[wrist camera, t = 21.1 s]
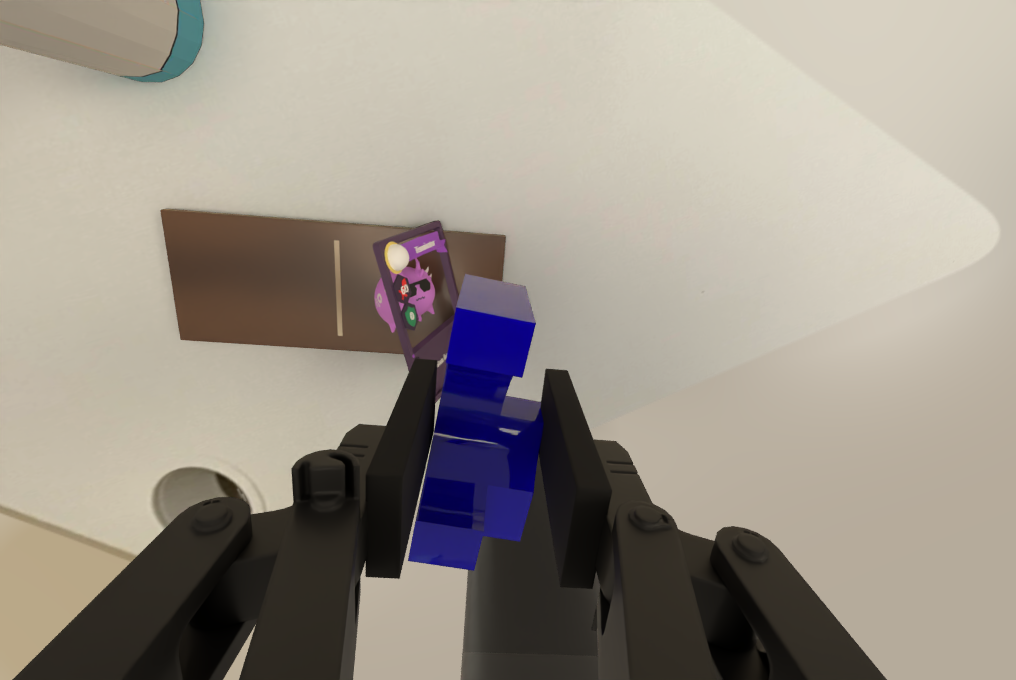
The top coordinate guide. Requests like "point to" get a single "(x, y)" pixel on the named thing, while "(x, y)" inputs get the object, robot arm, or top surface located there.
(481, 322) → the cable holder
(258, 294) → the brown slotted board
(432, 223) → the game card
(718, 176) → the top surface
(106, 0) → the cup
